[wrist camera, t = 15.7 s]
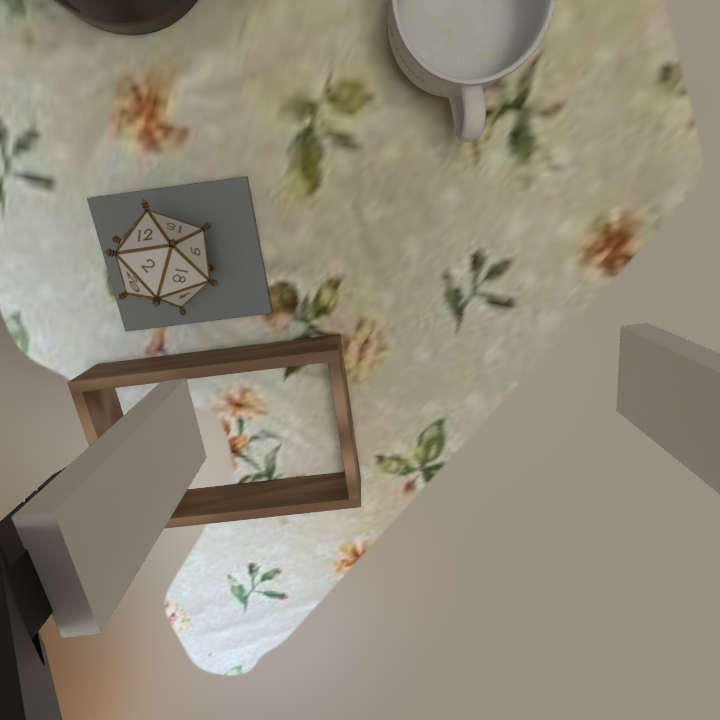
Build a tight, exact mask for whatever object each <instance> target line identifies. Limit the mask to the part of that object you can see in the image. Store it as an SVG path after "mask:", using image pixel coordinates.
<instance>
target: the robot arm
mask: <svg viewBox="0 0 720 720" xmlns="http://www.w3.org/2000/svg"><path fill="white" fill-rule="evenodd" d="M55 1H56V2H57V3H58V4H60V5H61V6H63V7H64V8H66V9H67V10H68V11H70V12H71V13H73V14H74V15H76V16H77V17H79V18H81V19H82V20H84V21H86V22H87V23H89V24H91V25H93V26H96V27H98V28H100V29H103V30H106V31H110V32H114V33H120V34H144V33H149V32H153V31H156V30H159V29H162V28H164V27H166V26H168V25H170V24H172V23H173V22H175V21H177V20H178V19H179V18H181V17H182V16H183V15H184V14H185V13H186V12H187V11H188V10H189V9H190V8H191V7H192V6H193V5H194V4H195V2H196V1H197V0H55ZM620 329H621V330H620V349H619V350H620V351H619V371H618V392H617V411H618V412H619V413H620V414H621V415H622V416H624V417H625V418H626V419H627V420H629V421H630V422H631V423H632V424H633V425H635V426H636V427H637V428H638V429H640V430H641V431H642V432H643V433H645V434H646V435H647V436H648V437H650V438H651V439H652V440H653V441H655V442H656V443H657V444H658V445H659V446H661V447H662V448H663V449H664V450H666V451H667V452H668V453H669V454H671V455H672V456H673V457H674V458H676V459H677V460H678V461H679V462H681V463H682V464H683V465H684V466H685V467H687V468H688V469H689V470H690V471H692V472H693V473H694V474H696V475H697V476H698V477H699V478H700V479H702V480H703V481H704V482H705V483H707V484H708V485H709V486H710V487H711V488H713V489H714V490H715V491H717V492H718V493H719V494H720V353H718V352H715V351H713V350H710V349H708V348H706V347H703V346H701V345H699V344H696V343H694V342H691V341H689V340H686V339H684V338H682V337H679V336H677V335H675V334H672V333H670V332H667V331H665V330H663V329H660V328H658V327H655V326H653V325H650V324H648V323H642V324H634V325H627V326H621V328H620ZM205 459H206V454H205V450H204V446H203V442H202V439H201V434H200V430H199V427H198V423H197V419H196V415H195V411H194V407H193V403H192V399H191V395H190V392H189V388H188V384H187V380H186V378H185V379H177V380H169V381H162V382H160V383H159V384H158V385H157V386H156V387H155V388H154V389H153V390H152V391H150V392H149V393H148V394H147V395H146V396H145V397H144V398H143V399H142V400H140V401H139V402H138V403H137V404H136V405H135V406H134V407H133V408H132V409H131V410H129V411H128V412H127V413H126V414H125V415H124V416H123V417H122V418H121V419H119V420H118V421H117V422H116V423H115V424H114V425H113V426H112V427H111V428H109V429H108V430H107V431H106V432H105V433H104V434H103V435H102V436H101V437H99V438H98V439H97V440H96V441H95V442H94V443H93V444H92V445H91V446H89V447H88V448H87V449H86V450H85V451H84V452H83V453H82V454H81V455H80V456H78V457H77V458H76V459H75V460H74V461H73V462H72V463H71V464H70V465H68V466H67V467H65V468H64V469H62V470H60V471H59V472H57V473H55V474H54V475H52V476H51V477H50V478H49V479H48V480H46V481H45V482H44V483H43V484H42V485H41V486H40V487H39V488H38V491H34V492H33V493H32V494H31V495H30V496H28V498H26V499H25V502H22V503H21V504H20V505H18V506H17V507H16V508H15V509H14V510H13V511H12V512H10V513H9V514H8V515H7V516H6V517H5V518H4V519H3V520H1V521H0V720H62V716H61V712H60V708H59V704H58V699H57V696H56V691H55V687H54V683H53V679H52V674H51V670H50V666H49V662H48V657H47V654H46V649H45V645H44V643H43V641H42V638H41V636H40V634H39V632H38V631H39V630H40V628H41V627H42V625H43V624H44V623H45V622H46V620H47V619H48V618H49V616H50V615H51V614H52V615H53V618H54V620H55V622H56V624H57V627H58V629H59V632H60V634H61V637H72V636H82V635H92V634H101V632H102V630H103V629H104V627H105V626H106V623H107V622H108V620H109V619H110V617H111V616H112V614H113V612H114V610H115V609H116V607H117V605H118V604H119V602H120V601H121V599H122V597H123V596H124V594H125V592H126V591H127V589H128V587H129V586H130V584H131V582H132V580H133V579H134V577H135V576H136V574H137V572H138V571H139V569H140V567H141V565H142V564H143V562H144V561H145V559H146V557H147V556H148V554H149V552H150V551H151V549H152V547H153V545H154V544H155V542H156V541H157V539H158V537H159V536H160V534H161V532H162V531H163V529H164V527H165V526H166V524H167V522H168V521H169V519H170V517H171V516H172V514H173V512H174V511H175V509H176V507H177V506H178V504H179V502H180V501H181V499H182V497H183V496H184V494H185V492H186V491H187V489H188V487H189V486H190V484H191V482H192V481H193V479H194V477H195V476H196V474H197V472H198V471H199V469H200V467H201V466H202V464H203V462H204V461H205Z"/></svg>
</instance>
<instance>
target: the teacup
mask: <svg viewBox="0 0 720 720" xmlns="http://www.w3.org/2000/svg"><path fill="white" fill-rule="evenodd" d="M555 3H556V0H389V2H388V12H387V26H388V36H389V41H390V45H391V49H392V52H393V54H394V57H395V59H396V61H397V63H398V65H399V66H400V68H401V70H402V71H403V72H404V74H405V75H406V76H407V77H408V78H409V79H410V80H411V81H412V82H413V83H414V84H415V85H416V86H418V87H419V88H420V89H422V90H424V91H426V92H428V93H430V94H433V95H436V96H440V97H447V98H449V102H450V105H451V109H452V116H453V122H454V128H455V132H456V136H457V138H458V139H459V140H460V141H461V142H472V141H476V140H477V139H478V138H480V136H481V135H482V132H483V129H484V125H485V117H486V106H485V97H484V93H483V90H484V89H486V88H488V87H489V86H491V85H492V84H494V83H495V82H497V81H498V80H500V79H501V78H502V77H504V76H506V75H508V74H509V73H511V72H513V71H514V70H516V69H517V68H518V67H520V66H521V65H522V64H523V63H524V62H525V61H526V60H527V59H528V58H529V57H530V56H531V55H532V54H533V53H534V51H535V50H536V48H537V47H538V45H539V44H540V42H541V41H542V39H543V37H544V35H545V33H546V31H547V29H548V27H549V24H550V21H551V18H552V14H553V11H554V8H555Z"/></svg>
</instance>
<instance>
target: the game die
mask: <svg viewBox="0 0 720 720" xmlns="http://www.w3.org/2000/svg"><path fill="white" fill-rule="evenodd" d="M141 205H142V206H143V207H142V208H144V210H145V211H144V213H143V214H142V215H141V216H140V217H139V219H138V220H137V221H136V222H135V223H134V225H133V226H132V227H131V228H130V229H129V231H128V232H127V233H126V234H125V235H124V237H123V238H122V239H120V237H117V236H115V237H111V238H112V239H113V241H114V242H116V243H119V244H118V247H117V249H116V251H114V250H111V249H107V250H106V251H104V253H106V254H107V255H108V257H109V256H111V257H113V256H115V257H116V261H117V264H118V268H119V271H120V275H121V278H122V282H123V286H124V289H125V292H123V293H122V292H121V294H119V298H118V300H122V299H123V300H124V299H125V298H126V297H127V295H132V296H136V297H140V298H144V299H148V300H152V301H153V302H152V304H154V306H155V307H157V306H158V305H160V303H163V304H167V305H171V306H175V307H179V308H180V310H179V312H180V314H182V315H183V316H184V317H185V313H186V312H187V311H185V309H184V307H183V306H184V305H185V304H186V303H187V302H188V301H189V300H191V299H192V298H193V297H194V296H195V295H196V294H197V293H198V292H199V291H200V290H201V289H203V288H204V287H205V286H206V285H207V284H208V283H210V284H211V285H213V286H218V285H219V283H218V282H217V280H214V279H211V278H210V271H213V270H214V269H215V268H214V267H213V266H212V265H209V261H208V253H207V245H206V236H205V230H209V228H211V224H212V222H208V223H206V224H205V225H204V226H203V227H199V226H196V225H193V224H190V223H187V222H184V221H181V220H178V219H175V218H172V217H169V216H166V215H163V214H160V213H157V212H154V211H151V210H149V205H148V202H147V201H146V200H144V199H143V200H142V204H141Z"/></svg>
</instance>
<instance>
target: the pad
mask: <svg viewBox="0 0 720 720" xmlns="http://www.w3.org/2000/svg"><path fill="white" fill-rule="evenodd" d="M143 199H144V200H146V201H147V202H148V205H149V210H151V211H154V212H157V213H160V214H163V215H166V216H169V217H172V218H175V219H178V220H181V221H184V222H187V223H190V224H193V225H196V226H199V227H203V226H204V225H205V224H206V223H208V222H212V224H211V228H209V230H205V236H206V245H207V253H208V261H209V265H212V266H213V267H214V268H215V269H214V270H213V271H210V278H211V279H214V280H217V282H218V283H219V285H218V286H213V285H211V284H210V283H208V284H207V285H206V286H205V287H204V288H203V289H201V290H200V291H199V292H198V293H197V294H196V295H195V296H194V297H193V298H192V299H191V300H189V301H188V302H187V303H186V304H185V305H184V306H183V307H184V309H185V311H187V312H186V313H185V317H184V316H183V315H182V314H180V312H179V310H180V308H179V307H175V306H171V305H167V304H163V303H160V305H158V306H157V307H155V306H154V304H152V302H153V301H152V300H148V299H144V298H140V297H136V296H132V295H127V297H126V298H125V299H124V300H123V299H122V300H118V298H119V294H121V292H122V293H123V292H125V289H124V286H123V282H122V278H121V275H120V271H119V268H118V264H117V261H116V257H115V256H113V257H111V256H109V257H108V255H107V254H106V253H104V251H106V250H107V249H111V250H114V251H116V249H117V247H118V244H119V243H116V242H114V241H113V239H112V238H111V237H115V236H117V237H120V239H122V238H123V237H124V235H125V234H126V233H127V232H128V231H129V229H130V228H131V227H132V226H133V225H134V223H135V222H136V221H137V220H138V219H139V217H140V216H141V215H142V214H143V213H144V211H145V210H144V208H142V207H143V206H142V205H141V204H142V200H143ZM87 200H88V204H89V207H90V210H91V214H92V217H93V221H94V224H95V228H96V231H97V235H98V238H99V241H100V245H101V248H102V252H103V255H104V259H105V262H106V266H107V269H108V273H109V276H110V279H111V283H112V286H113V290H114V293H115V297H116V300H117V304H118V307H119V310H120V314H121V317H122V321H123V324H124V328H125V331H133V330H141V329H149V328H157V327H165V326H173V325H181V324H189V323H197V322H205V321H213V320H221V319H229V318H237V317H245V316H253V315H261V314H269V313H272V312H273V311H272V305H271V300H270V295H269V289H268V284H267V279H266V273H265V268H264V263H263V257H262V252H261V247H260V241H259V236H258V231H257V225H256V220H255V215H254V209H253V204H252V198H251V193H250V188H249V182H248V177H239V178H232V179H224V180H217V181H210V182H202V183H195V184H188V185H180V186H173V187H166V188H158V189H151V190H144V191H136V192H129V193H122V194H114V195H107V196H100V197H92V198H87Z"/></svg>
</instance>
